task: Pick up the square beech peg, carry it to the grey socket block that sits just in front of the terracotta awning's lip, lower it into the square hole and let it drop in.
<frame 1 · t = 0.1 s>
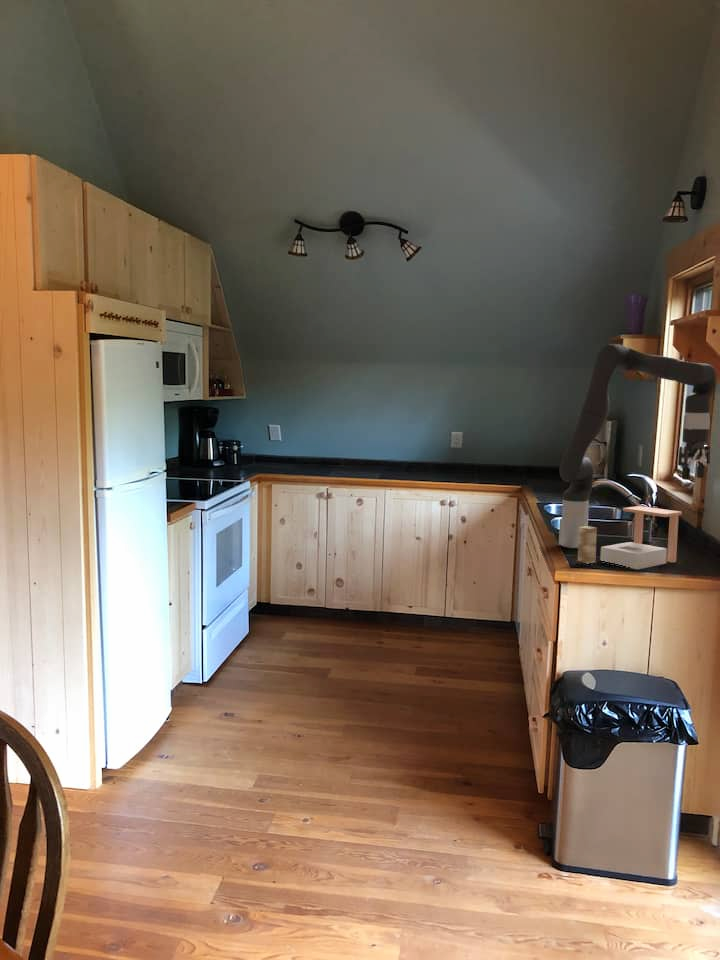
hand: (693, 478, 232), 29 cm above the counter, tool pointing down, fingers open, 8 cm apart
socket block: (629, 563, 244), on the counter
supplement bottle: (641, 541, 283), on the counter
peg: (586, 563, 243), on the counter
awning: (650, 534, 249), on the counter
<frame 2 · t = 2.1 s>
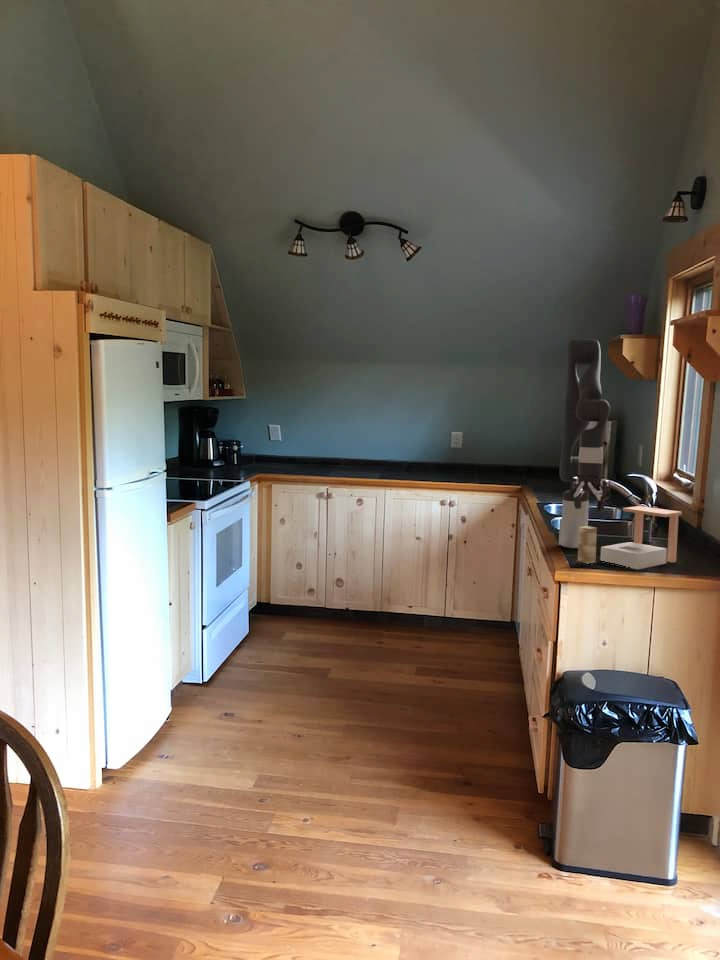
hand: (588, 510, 241), 18 cm above the counter, tool pointing down, fingers open, 8 cm apart
nothing on the counter moved.
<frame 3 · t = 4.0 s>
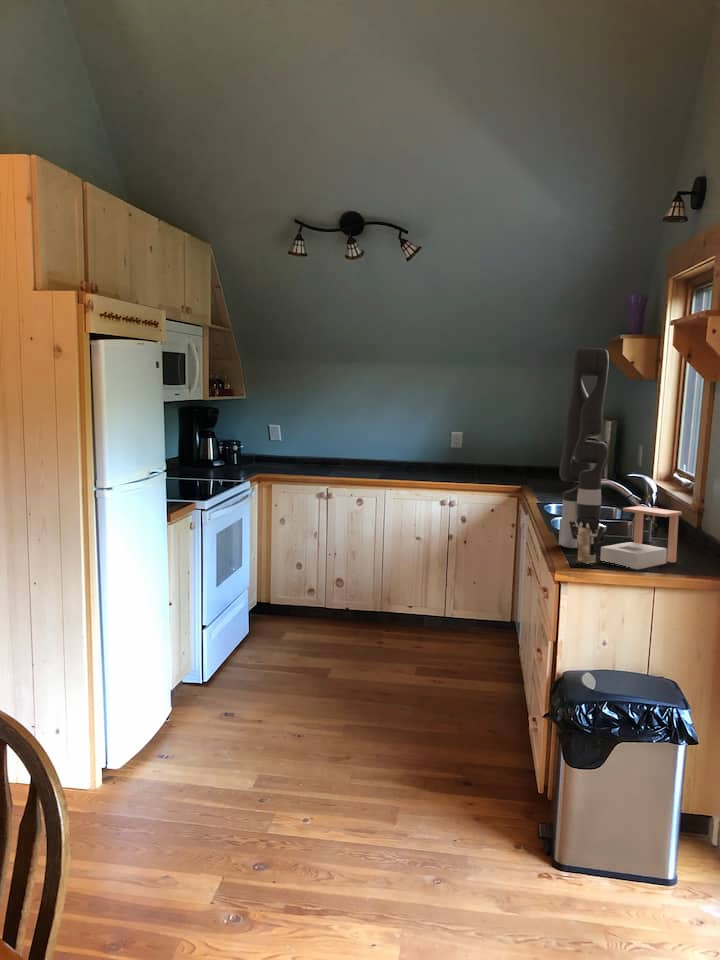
hand: (586, 553, 243), 3 cm above the counter, tool pointing down, fingers closed on peg, 4 cm apart
peg: (586, 563, 243), on the counter, touching gripper
everything else where it was.
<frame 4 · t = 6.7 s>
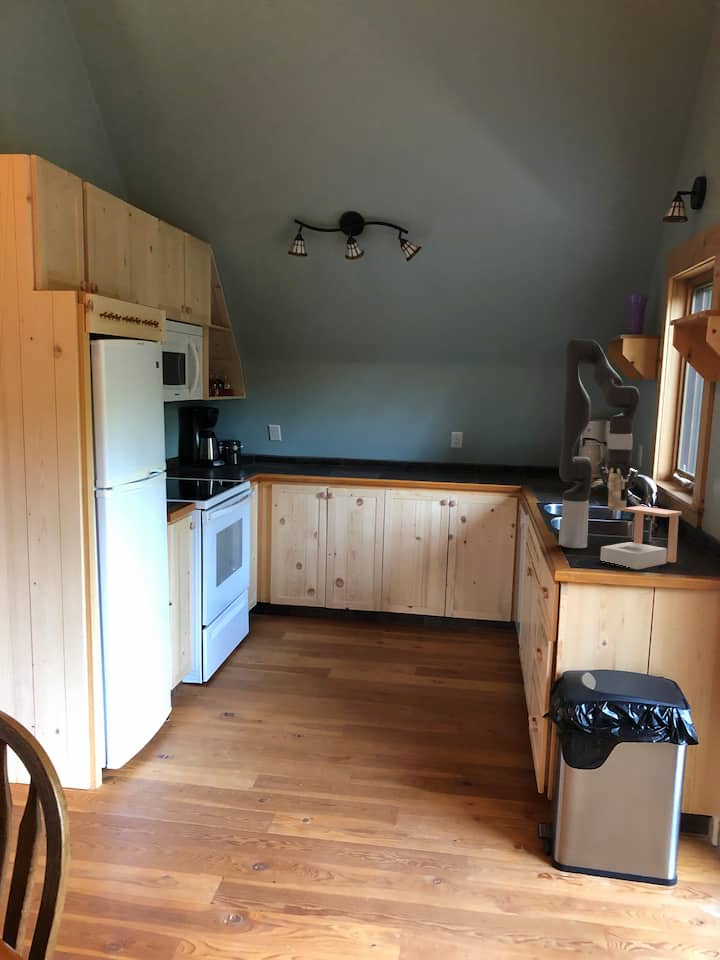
hand: (617, 499, 241), 21 cm above the counter, tool pointing down, fingers closed on peg, 4 cm apart
peg: (616, 509, 241), point 18 cm above the counter, touching gripper
everything else where it was.
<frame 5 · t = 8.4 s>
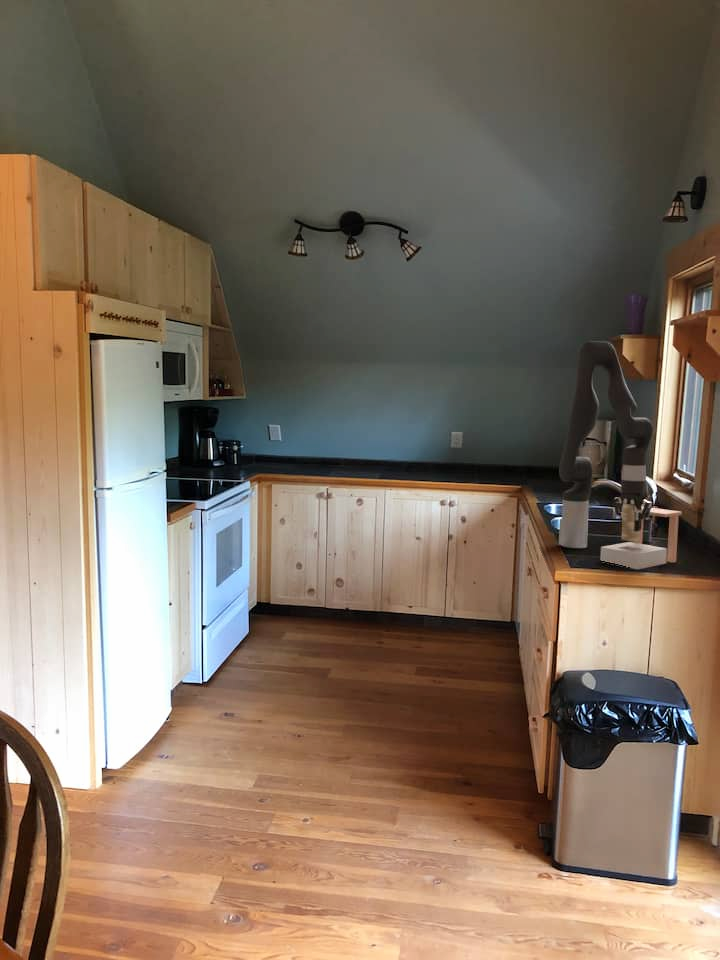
hand: (631, 530, 242), 11 cm above the counter, tool pointing down, fingers closed on peg, 4 cm apart
peg: (630, 539, 243), point 8 cm above the counter, touching gripper
everything else where it was.
when the fingers open (7 cm above the counter, at t = 9.7 s): peg drops 3 cm, resting in socket block.
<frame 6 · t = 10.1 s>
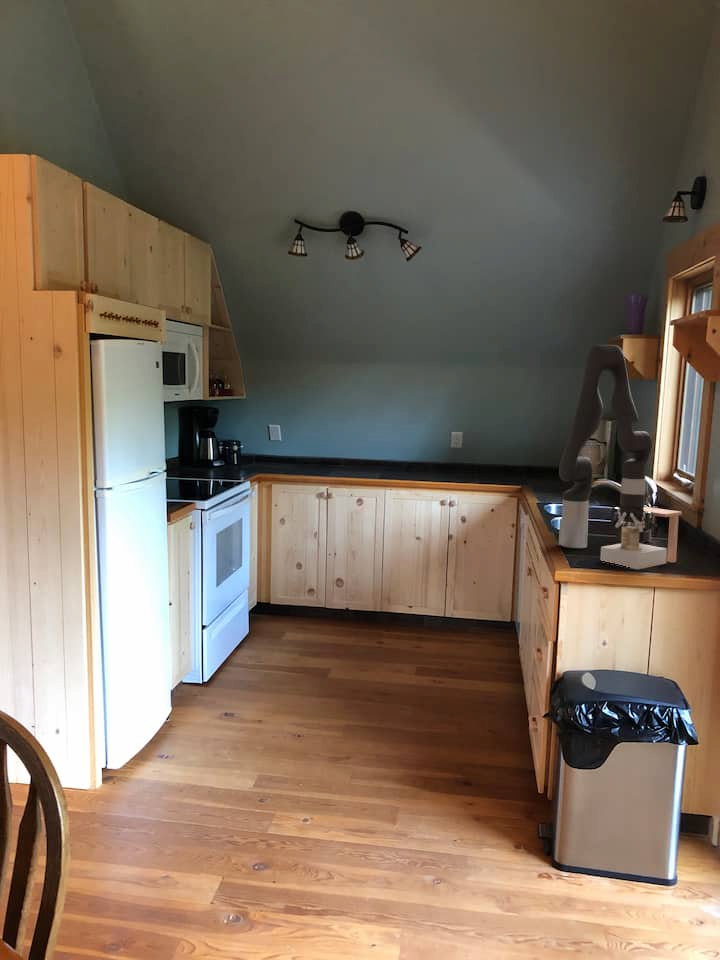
hand: (630, 540, 243), 8 cm above the counter, tool pointing down, fingers open, 8 cm apart
peg: (629, 563, 244), resting in socket block
everything else where it was.
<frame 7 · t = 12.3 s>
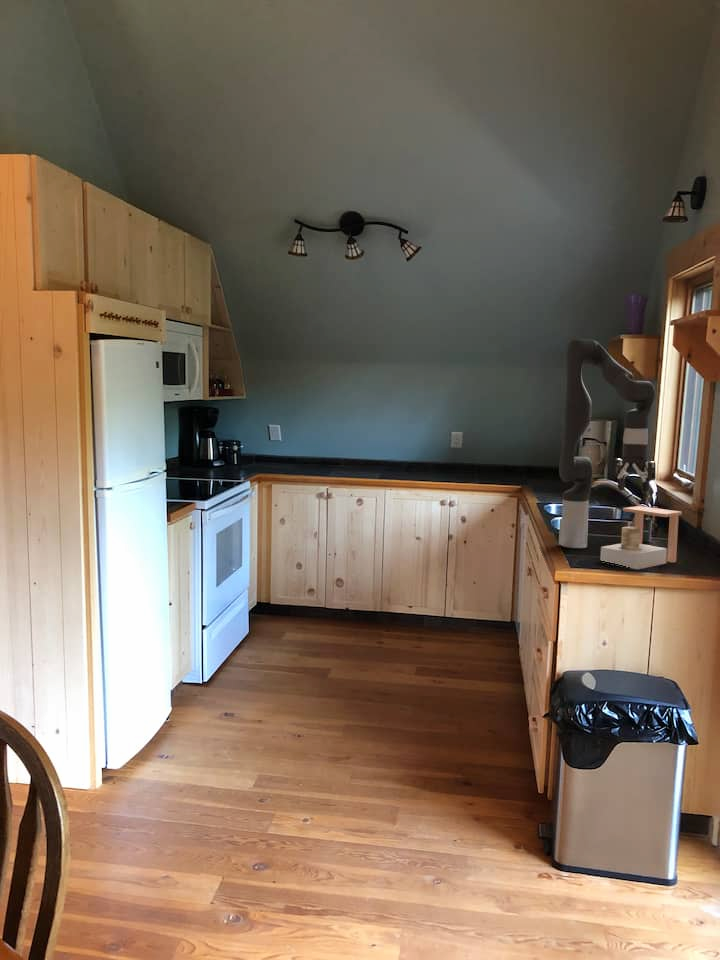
hand: (632, 491, 241), 24 cm above the counter, tool pointing down, fingers open, 8 cm apart
nothing on the counter moved.
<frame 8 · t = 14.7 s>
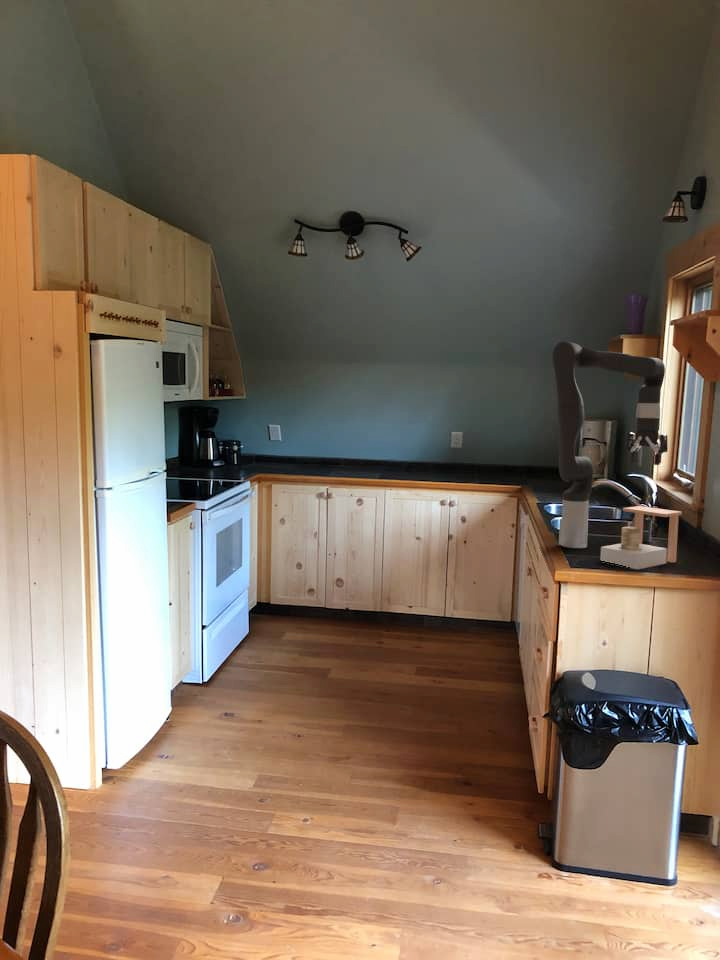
hand: (645, 463, 252), 32 cm above the counter, tool pointing down, fingers open, 8 cm apart
nothing on the counter moved.
at the end: peg 0.1 cm off-centre on the socket block, point 0.0 cm above the socket block's base; peg tilted 0°; the gripper is holding nothing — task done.
